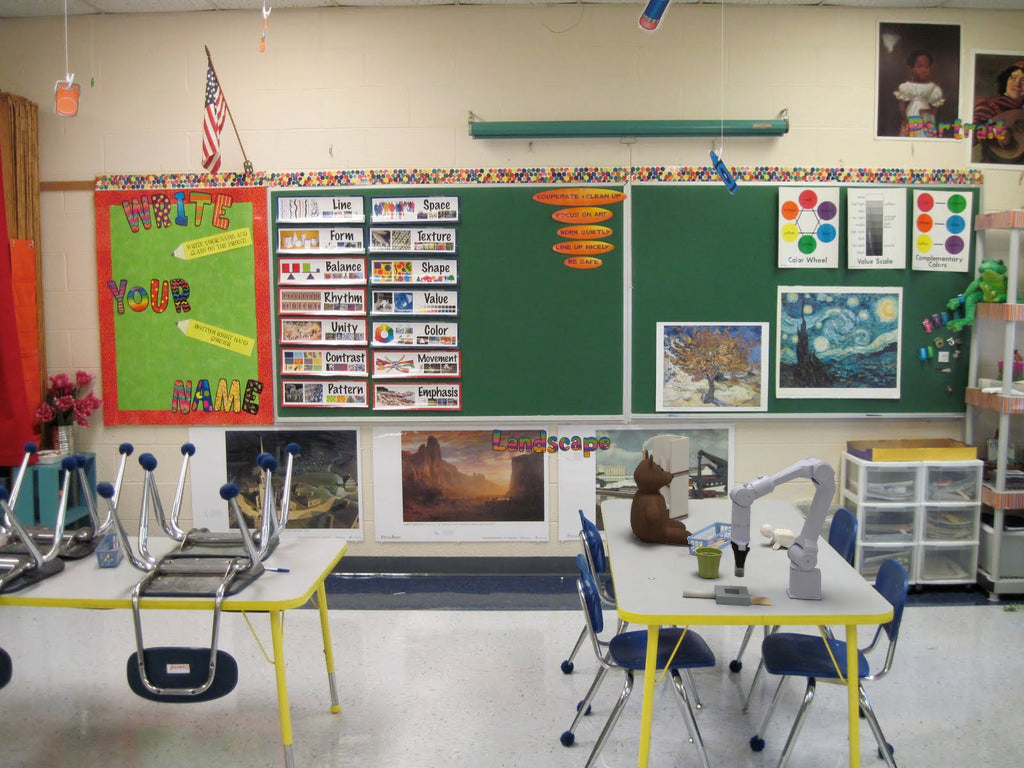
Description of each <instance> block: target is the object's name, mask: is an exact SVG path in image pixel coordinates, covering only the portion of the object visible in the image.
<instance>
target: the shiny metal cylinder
mask: <svg viewBox="0 0 1024 768" xmlns="http://www.w3.org/2000/svg"><path fill="white" fill-rule="evenodd" d="M745 564H746V563H745ZM745 564H744V568H737V567H736V562H735V561H734V577H736V578H744V577H745V569H746V568H745V567H746V566H745Z"/></svg>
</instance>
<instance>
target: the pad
mask: <svg viewBox="0 0 1024 768" xmlns="http://www.w3.org/2000/svg"><path fill="white" fill-rule="evenodd" d="M749 596H750V595H749ZM752 605H753V606H770V607H771V606H772V602H771V600H770V597H769V596H768V597H767V596H766V597H765V596H750V606H752Z"/></svg>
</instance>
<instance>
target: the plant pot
mask: <svg viewBox="0 0 1024 768" xmlns="http://www.w3.org/2000/svg"><path fill="white" fill-rule="evenodd" d="M694 552H695V556H696V558H697V565H698V572H699V573H698V574H699V576H700V578H704V579H709V578H711V579H716V578H718V576H719V570H720V564H721V559H722V555H723V554H724V551H723V550H722V549H719V548H717V547H710V546H709V547H708V546H704V547H698V548H695V549H694Z"/></svg>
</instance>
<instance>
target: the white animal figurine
mask: <svg viewBox="0 0 1024 768" xmlns="http://www.w3.org/2000/svg"><path fill="white" fill-rule="evenodd" d="M759 531H760V534H761V536H763V537H764V538H767V539H771V538H772V539H771V540H770V541H769V543H770V545H773V546H772V550H773V551H777V550H779V549H780V547H781V548H782V547H783V548H787V549H788V548H789V547H790V546H791V545H792V544H793V542H794V540H795V538H796V537H798V536H797V535H796V533H795V531H793V530H791V529H788V528H786V529H785V528H776V529H774V527H773V526H772V525H771V524H769V523H764V524H762V525H761V526H760V529H759Z"/></svg>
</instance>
